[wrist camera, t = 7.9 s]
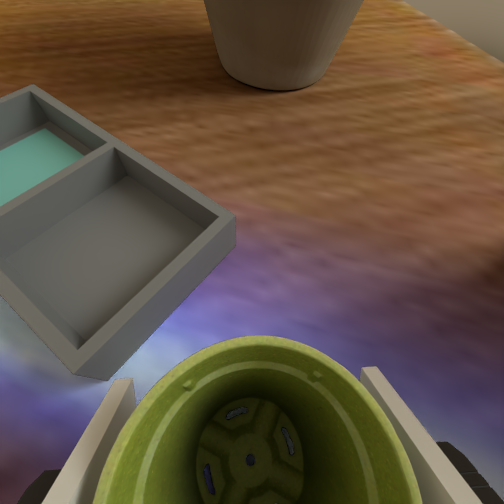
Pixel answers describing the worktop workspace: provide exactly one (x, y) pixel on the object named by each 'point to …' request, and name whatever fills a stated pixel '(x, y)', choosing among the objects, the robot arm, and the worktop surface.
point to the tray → (95, 234)
